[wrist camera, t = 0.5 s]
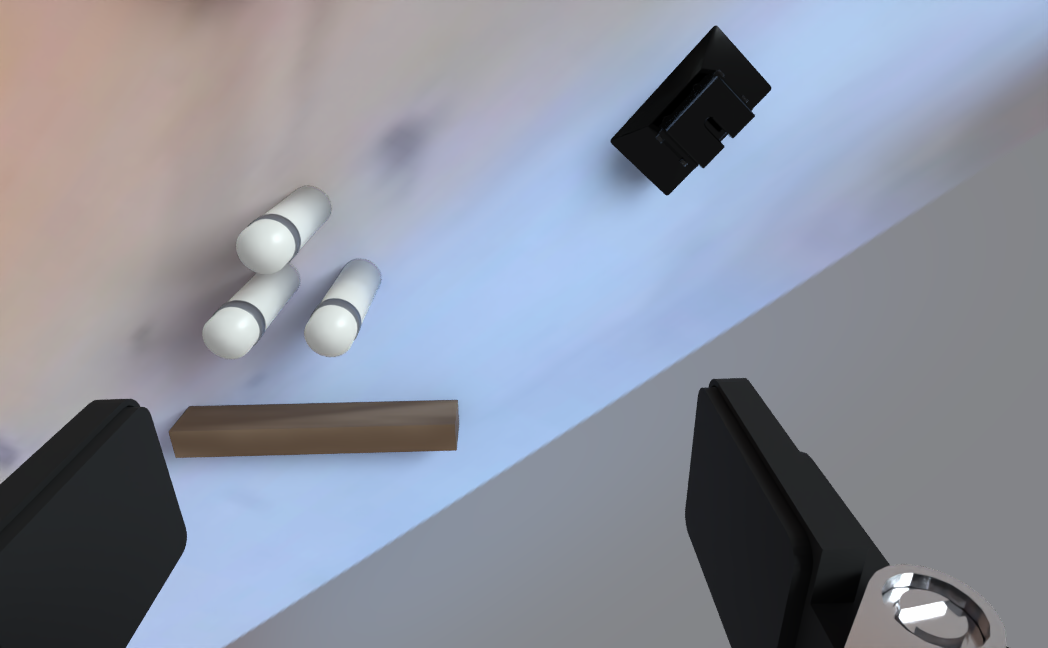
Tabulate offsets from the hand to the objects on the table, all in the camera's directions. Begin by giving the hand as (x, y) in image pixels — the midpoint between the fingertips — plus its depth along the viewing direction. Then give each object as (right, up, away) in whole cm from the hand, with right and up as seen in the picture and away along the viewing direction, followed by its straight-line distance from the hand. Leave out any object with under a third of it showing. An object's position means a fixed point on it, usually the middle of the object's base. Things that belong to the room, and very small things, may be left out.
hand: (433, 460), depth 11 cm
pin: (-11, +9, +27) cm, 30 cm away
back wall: (-12, -4, +33) cm, 35 cm away
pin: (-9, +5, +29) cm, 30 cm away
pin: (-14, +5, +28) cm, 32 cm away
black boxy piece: (+11, +15, +26) cm, 32 cm away
